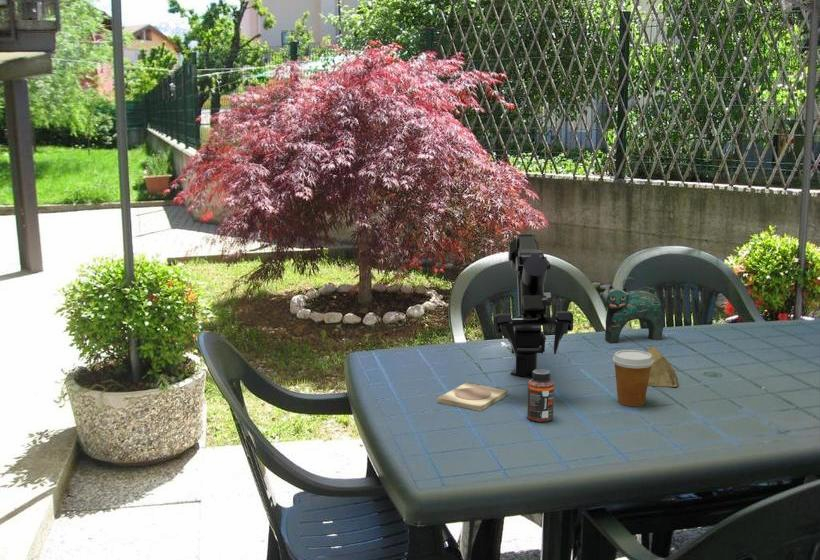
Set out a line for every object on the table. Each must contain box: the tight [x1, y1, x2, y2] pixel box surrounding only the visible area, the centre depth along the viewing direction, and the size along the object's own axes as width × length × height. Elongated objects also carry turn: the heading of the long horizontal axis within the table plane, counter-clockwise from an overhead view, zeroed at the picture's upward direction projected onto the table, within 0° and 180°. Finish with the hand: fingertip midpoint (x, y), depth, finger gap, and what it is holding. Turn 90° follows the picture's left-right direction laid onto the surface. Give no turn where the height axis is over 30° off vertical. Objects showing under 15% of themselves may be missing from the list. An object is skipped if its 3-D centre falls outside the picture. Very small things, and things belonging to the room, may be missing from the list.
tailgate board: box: [436, 382, 509, 412], centre depth 215 cm, size 15×12×1 cm
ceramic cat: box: [602, 277, 666, 344], centre depth 267 cm, size 20×6×20 cm, turn 102°
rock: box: [646, 346, 679, 388], centre depth 224 cm, size 10×8×10 cm
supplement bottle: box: [526, 368, 555, 423], centre depth 200 cm, size 6×6×11 cm
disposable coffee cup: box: [612, 349, 653, 407], centre depth 210 cm, size 10×10×12 cm
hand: (535, 353), depth 207 cm, fingers open, 9 cm apart
